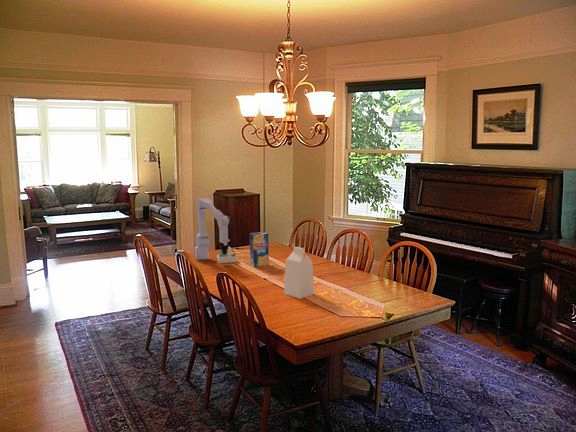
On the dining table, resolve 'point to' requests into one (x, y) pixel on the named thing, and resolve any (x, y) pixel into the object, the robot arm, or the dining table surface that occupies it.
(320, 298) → the dining table surface
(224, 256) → the front flap
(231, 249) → the side flap
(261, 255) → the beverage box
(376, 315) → the dining table surface
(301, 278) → the milk
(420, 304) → the dining table surface
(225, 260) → the carton
